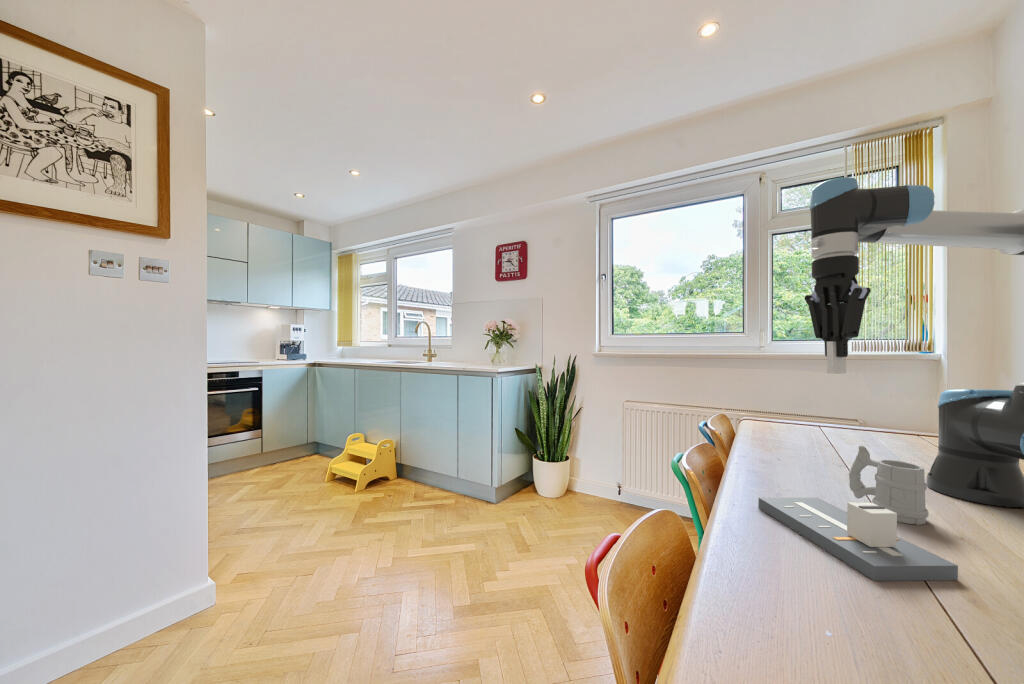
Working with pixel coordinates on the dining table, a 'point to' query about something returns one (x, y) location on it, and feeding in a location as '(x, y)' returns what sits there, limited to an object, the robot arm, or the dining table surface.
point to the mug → (892, 486)
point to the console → (857, 542)
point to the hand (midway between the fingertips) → (836, 373)
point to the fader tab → (872, 524)
